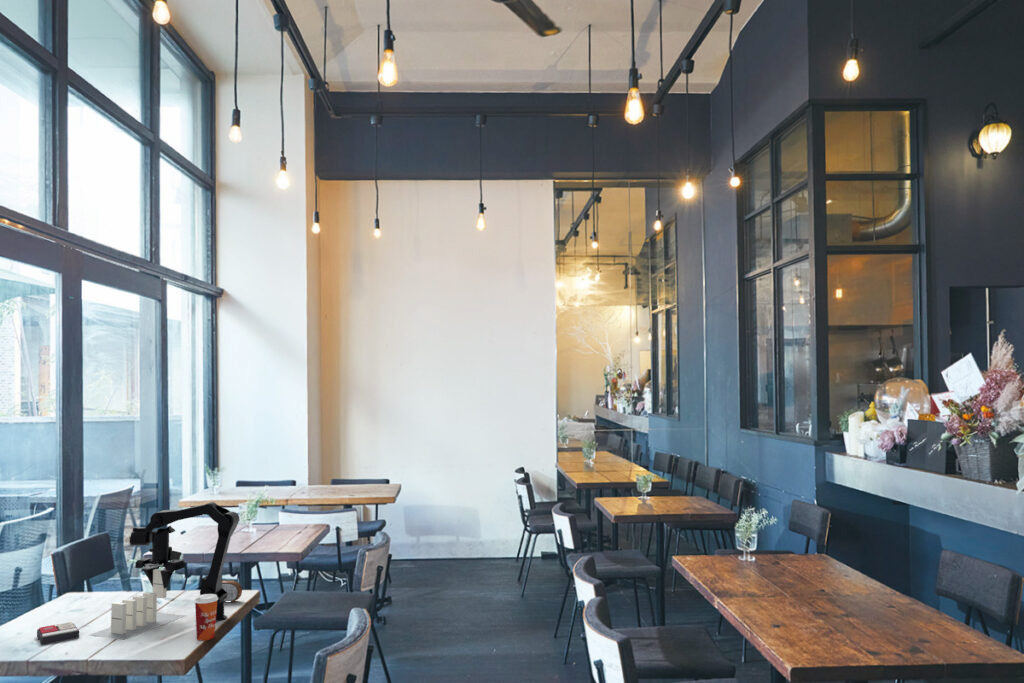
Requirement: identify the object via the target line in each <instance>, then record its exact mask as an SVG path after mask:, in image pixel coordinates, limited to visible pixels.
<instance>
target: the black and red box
mask: <svg viewBox="0 0 1024 683" xmlns="http://www.w3.org/2000/svg"><path fill="white" fill-rule="evenodd" d="M37 637H38V639H37V640H38V641H39V643H40V645H41V646H43V645H48V644H49V645H50V644H54V643H59V642H64V641H69V640H70V641H71V640H74V639H75V640H76V639H79V638H80V629H79V628H78V627H77V626H76V625H75V623H73V622H72V621H70V622H64V623H59V624H53V625H47V626H46V625H45V626H41V627H38V628H37V629H36V638H37Z"/></svg>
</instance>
